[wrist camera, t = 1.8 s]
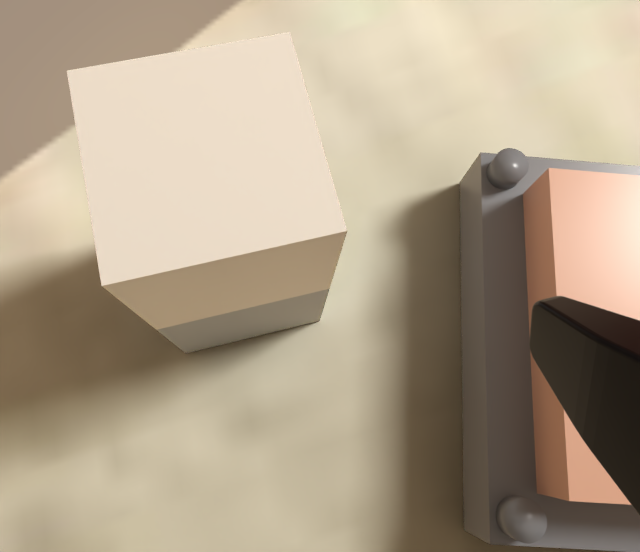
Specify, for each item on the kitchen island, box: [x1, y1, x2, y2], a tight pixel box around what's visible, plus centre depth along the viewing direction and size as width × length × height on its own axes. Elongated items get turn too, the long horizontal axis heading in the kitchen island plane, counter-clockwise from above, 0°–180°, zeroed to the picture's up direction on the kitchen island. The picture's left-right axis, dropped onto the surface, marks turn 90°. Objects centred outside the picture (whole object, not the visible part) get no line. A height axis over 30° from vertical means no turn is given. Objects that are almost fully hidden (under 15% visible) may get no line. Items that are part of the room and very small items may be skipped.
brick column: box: [67, 32, 347, 353], centre depth 16 cm, size 5×5×10 cm
